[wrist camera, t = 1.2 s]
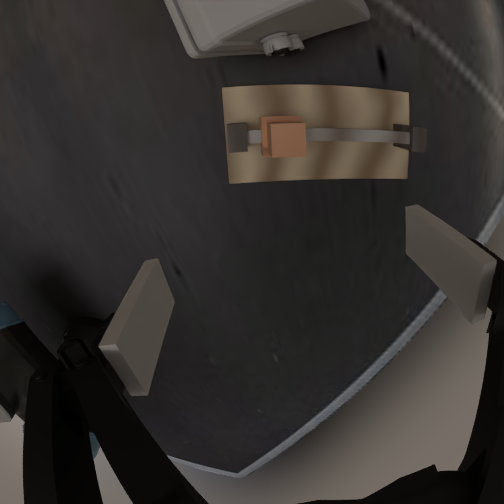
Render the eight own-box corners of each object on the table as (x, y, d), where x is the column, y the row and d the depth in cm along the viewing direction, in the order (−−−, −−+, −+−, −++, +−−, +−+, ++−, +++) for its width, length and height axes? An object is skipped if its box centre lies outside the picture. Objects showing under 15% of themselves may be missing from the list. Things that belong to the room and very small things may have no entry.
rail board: (229, 181, 39) (227, 194, 33) (222, 88, 34) (218, 83, 28) (403, 177, 39) (426, 188, 33) (404, 92, 34) (429, 92, 28)
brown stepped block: (260, 152, 35) (266, 164, 26) (258, 116, 33) (264, 117, 24) (295, 150, 35) (312, 163, 26) (293, 115, 33) (310, 116, 24)
